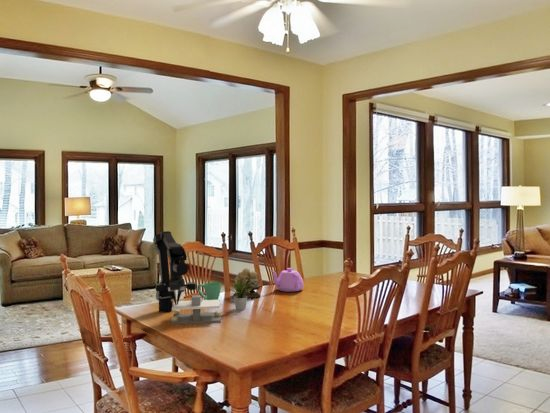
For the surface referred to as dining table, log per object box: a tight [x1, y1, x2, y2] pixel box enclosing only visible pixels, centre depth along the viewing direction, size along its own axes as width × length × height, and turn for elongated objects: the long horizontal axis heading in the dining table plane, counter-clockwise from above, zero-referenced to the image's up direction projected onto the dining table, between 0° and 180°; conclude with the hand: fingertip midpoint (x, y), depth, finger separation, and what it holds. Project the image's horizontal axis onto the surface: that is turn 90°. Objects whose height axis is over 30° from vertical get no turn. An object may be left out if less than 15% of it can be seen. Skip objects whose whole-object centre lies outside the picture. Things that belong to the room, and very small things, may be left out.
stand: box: [170, 309, 222, 325], centre depth 231 cm, size 23×16×6 cm
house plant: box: [229, 278, 254, 311], centre depth 250 cm, size 14×14×16 cm
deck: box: [172, 294, 220, 311], centre depth 231 cm, size 22×14×5 cm, turn 96°
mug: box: [197, 282, 222, 300], centre depth 269 cm, size 15×10×10 cm
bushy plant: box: [233, 267, 262, 300], centre depth 281 cm, size 18×12×17 cm, turn 64°
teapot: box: [271, 267, 304, 293], centre depth 297 cm, size 22×22×14 cm
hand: (176, 304), depth 230 cm, fingers closed, pressing on deck
